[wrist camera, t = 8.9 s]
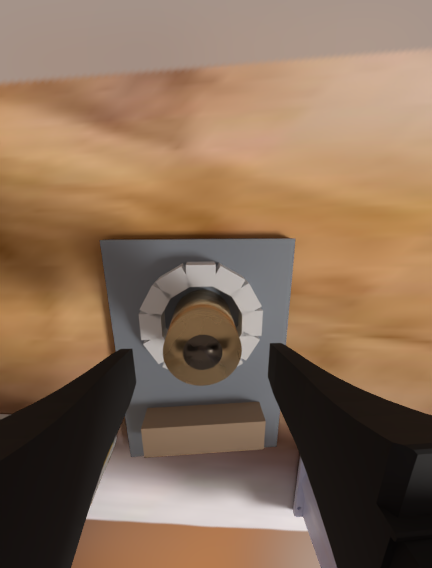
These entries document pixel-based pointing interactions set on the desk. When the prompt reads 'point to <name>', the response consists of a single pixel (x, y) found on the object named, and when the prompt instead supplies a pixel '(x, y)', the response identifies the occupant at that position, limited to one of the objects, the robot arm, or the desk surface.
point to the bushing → (202, 340)
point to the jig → (155, 323)
